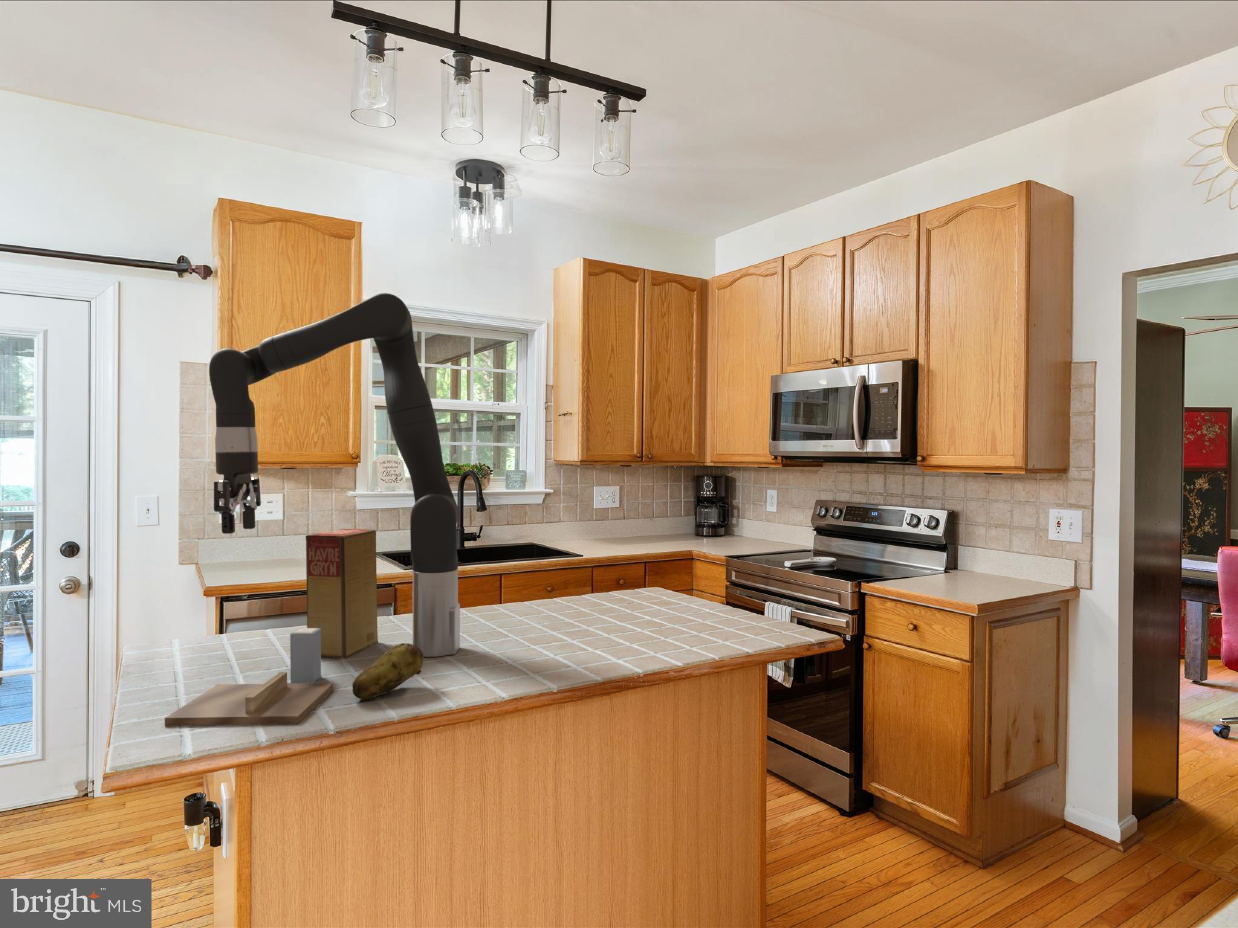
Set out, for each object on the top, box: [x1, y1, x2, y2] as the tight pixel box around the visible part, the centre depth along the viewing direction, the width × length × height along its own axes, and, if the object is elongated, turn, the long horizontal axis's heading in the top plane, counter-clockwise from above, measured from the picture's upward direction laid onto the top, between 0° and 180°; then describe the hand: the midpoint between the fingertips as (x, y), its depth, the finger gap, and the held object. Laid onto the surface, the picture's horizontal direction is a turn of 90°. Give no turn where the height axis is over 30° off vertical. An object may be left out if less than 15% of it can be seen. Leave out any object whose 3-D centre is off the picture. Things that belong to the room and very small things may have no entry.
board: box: [164, 671, 334, 727], centre depth 120 cm, size 20×16×4 cm
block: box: [289, 627, 322, 684], centre depth 134 cm, size 4×4×9 cm
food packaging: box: [305, 528, 379, 659], centre depth 155 cm, size 13×9×25 cm
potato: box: [351, 642, 424, 701], centre depth 127 cm, size 8×13×8 cm, turn 124°
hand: (239, 530), depth 146 cm, fingers open, 8 cm apart
